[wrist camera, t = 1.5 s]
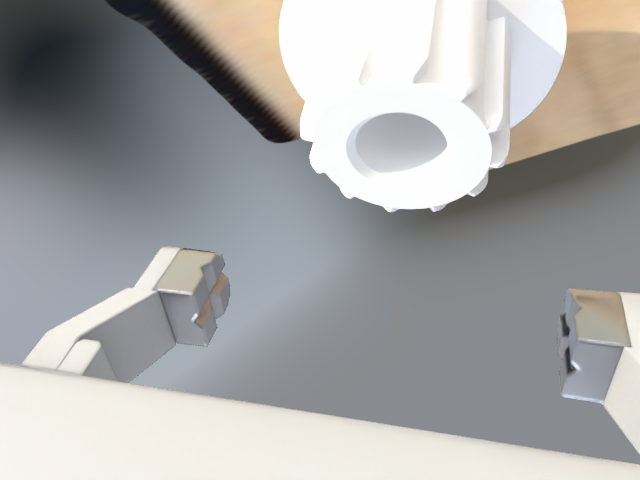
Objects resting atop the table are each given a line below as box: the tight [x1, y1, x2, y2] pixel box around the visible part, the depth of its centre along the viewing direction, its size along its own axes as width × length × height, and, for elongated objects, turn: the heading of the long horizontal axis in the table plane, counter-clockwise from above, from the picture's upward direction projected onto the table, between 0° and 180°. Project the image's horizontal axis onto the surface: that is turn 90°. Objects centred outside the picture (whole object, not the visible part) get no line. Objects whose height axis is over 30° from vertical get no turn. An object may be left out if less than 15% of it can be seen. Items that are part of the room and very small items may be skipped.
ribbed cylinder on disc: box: [279, 0, 567, 212], centre depth 52 cm, size 25×25×19 cm
